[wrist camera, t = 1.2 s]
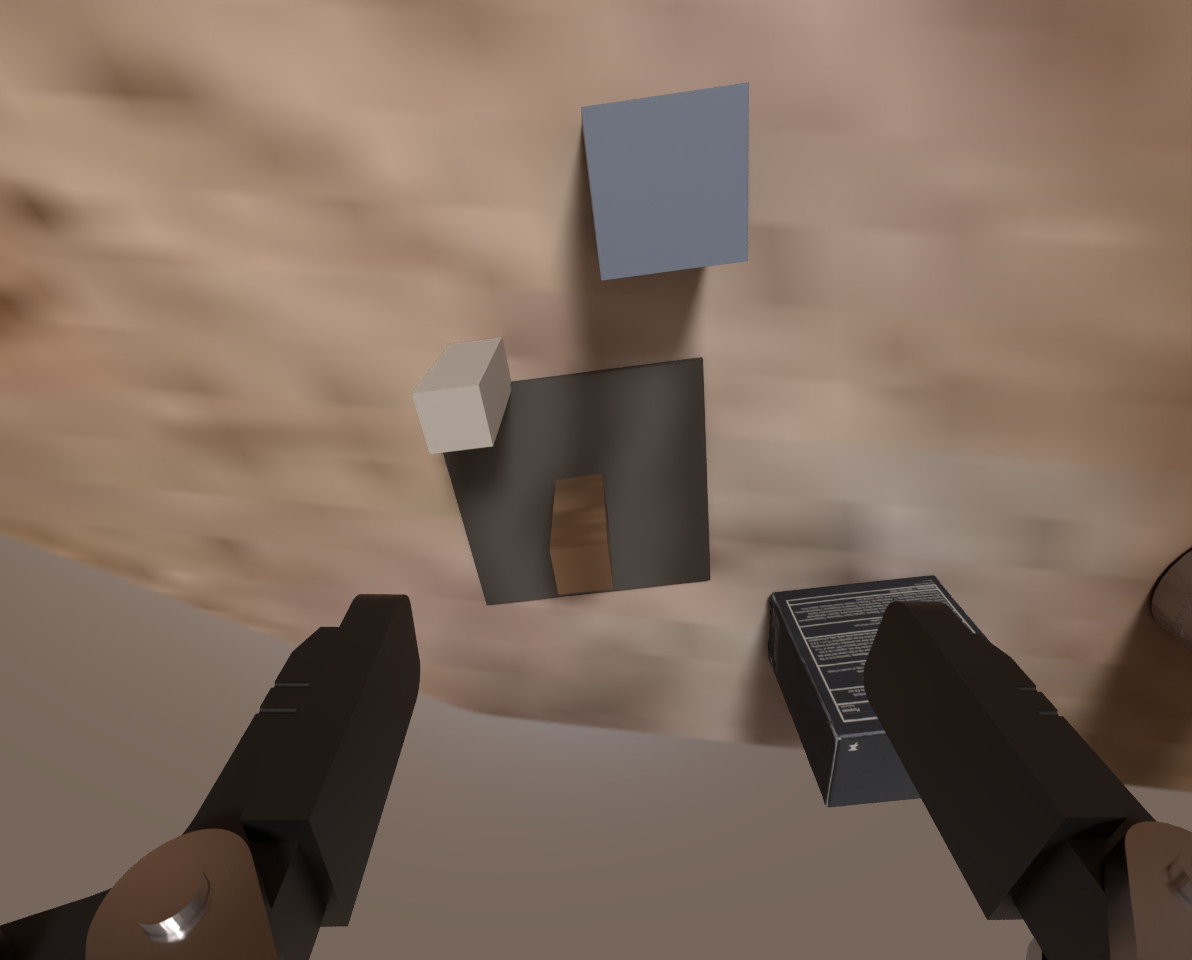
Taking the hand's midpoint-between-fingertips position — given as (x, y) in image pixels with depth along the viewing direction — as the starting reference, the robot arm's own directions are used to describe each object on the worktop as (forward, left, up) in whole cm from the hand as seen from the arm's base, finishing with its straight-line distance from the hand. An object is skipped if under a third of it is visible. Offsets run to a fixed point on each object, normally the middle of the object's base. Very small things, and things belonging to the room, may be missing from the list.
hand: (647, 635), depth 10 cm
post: (+6, +1, -21) cm, 21 cm away
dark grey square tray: (+2, +9, -21) cm, 22 cm away
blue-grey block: (-3, -6, -21) cm, 22 cm away
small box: (-14, +21, -21) cm, 32 cm away
